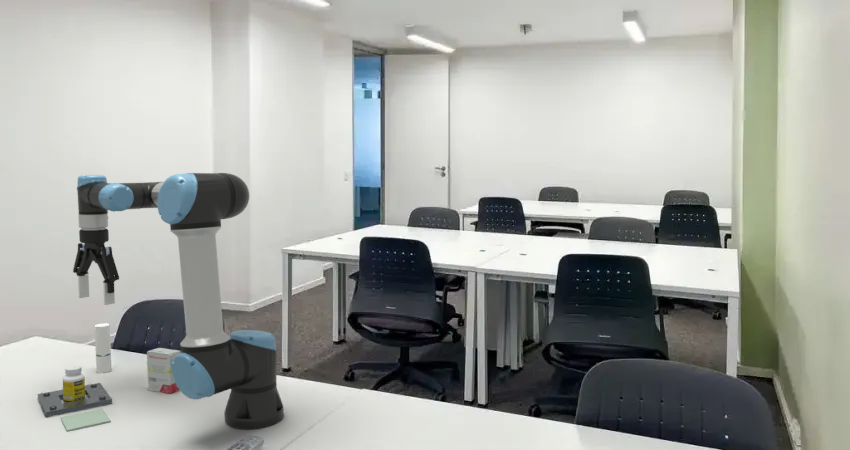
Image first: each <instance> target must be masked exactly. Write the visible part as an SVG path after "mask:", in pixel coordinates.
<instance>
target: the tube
mask: <svg viewBox="0 0 850 450" xmlns="http://www.w3.org/2000/svg"><path fill="white" fill-rule="evenodd" d="M94 342H95V343H94V345H95V361H96V362H95V364H96V365H95V366H96V373H97V374H107V373H110V372H112V371H113V370H112V352H111V350H112V349H111V347H112V346H111V326H110V323H107V322H106V323H104V322H103V323H98V324H95V325H94Z"/></svg>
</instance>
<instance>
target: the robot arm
mask: <svg viewBox="0 0 850 450" xmlns="http://www.w3.org/2000/svg"><path fill="white" fill-rule="evenodd" d="M76 191H77V192H76V193H77V205H78V206H77V207H78V214H77V215H78V228H79V230H78V232H79V233H78V235H79V243H77V253H76V257H75V261H74V265H73V269H72V272H73V273H74V274H75V275H76V276H77V278H78V279H77V283H78V285H77V286H78V287H77V288H78V298H79V299H83V298H84V299H85V298H89V297H90V283H89V282H90V281H89V278H90V277H89V274H90V273H89V269H90V267H91V265H92V263H93V262H94V263H95V264H97V266H98V268H99V270H100V272H101V275H102V278H103V279H104V280H103V281H102V283H103V286H102V287H103V305H105V306H107V305H108V306H109V305H113V304H116V302H115V300H116V299H115V298H116V297H115V282H116V281H119V280H120V275H119V273H118V269H117V266H116V263H115V262H116V261H115V259H114V255H113V248H112V246H105V243H107V242H109V240H110V239H109V238H110V237H109V229H108V228H107V227H109V214H108V213H109V212H125V211H126V210H140V209H157V211H158V214H159V216H160V219H161V220H162V221H163V222H164V223H166V224H168V225H169V228H170V232H171V233H172V234H173V235H175V237H176V238H177V242H178V243H177V244H178V253H179V263H180V265H179V266H180V274H181V275H180V276H181V287H182V298H183V299H182V302H183V311H184V312H183V313H184V323H185V324H184V325H185V334H186V335H185V337H184V338H183V340H182V341H181V342H180V344H179V345H180V351H181V353H179V354H178V355H177V356H175V357H174V359H173V362H172V374H173V378H174V381H175V383H176V385H177V387H178V388H179V391H180V392H181V393H182V394H183V395H184V396H185V397H186V398H188V399H191V400H200V399H204V398H211V397H213V396H214V395H217V394H220V393H222V392H223V393H224V392H226V391H228V390H230V393H229V396H228V400H227V403H226V405H225V409H224V423H225V424H226V425H227V426H229V427H231V428H234V429H239V430H241V429H242V430H252V429H253V430H254V429H256V430H257V429H261V428H265V427H266V428H267V427H270V426H272V425H275V424H277V423H278V422H280V421H281V420H282V419H283V418H284V414H285V413H284V410H285V408H284V404H283V401H282V399H281V396H280V393H279V391H278V387H277V351H278V348H277V343H276V342H277V341H276V337H275V335H274V334H272V333H271V332H268V331H263V330H258V329H257V330H256V329H255V330H254V329H239V330H235V331H234V330H233V331H231V333H229V335H228V333H226V332H225V331H224V323H223V311H222V298H221V287H220V285H221V284H220V275H219V263H218V250H217V240H216V239H217V238H216V236H217V235H216V234H217V233H218V232H219V231H220V229H222V222H221V221H222V220H225V219H231V218H234V217H235V218H236V217H237V216H239V215H240V214H241V213H243V212H244V211H245V210H246V208H247V206H248V205H249V202H250V191H249V188H248V185H247V184H246V182H245V181H244V180H243V179H242V178H241V177H239V176H237V175H235V174H232V173H227V172H218V173H217V172H213V173H212V172H210V173H209V172H208V173H207V172H203V173H201V172H198V173H197V172H186V173H185V172H184V173H176V174H172V175H170V176H168V177H167V178H166V179H165V180H164V181H153V182H152V181H149V182H117V183H116V182H114V183H111V182H110V183H109V182H108V181H107V177H106V176H105V175H103V174H81V175H78V177H77V187H76Z"/></svg>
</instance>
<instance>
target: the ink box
mask: <svg viewBox="0 0 850 450" xmlns="http://www.w3.org/2000/svg"><path fill="white" fill-rule="evenodd" d="M179 353H181V350H177V349H171V348H165V347H163V348H162V347H157V348H154V349H150V350H148V351H146V359H147V361H146V364H147V389H148V391H150V392H157V393H164V394H165V393H166V394H173V393H175V392H177V391H180V389H179V388H178V387H177V385H176V383H175V381H174V378H173V374H172V362H173V359H174V357H175V356H177V355H178V354H179Z"/></svg>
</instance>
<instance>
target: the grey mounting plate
mask: <svg viewBox="0 0 850 450" xmlns="http://www.w3.org/2000/svg"><path fill="white" fill-rule="evenodd" d="M85 396H86V397H87V398H86V397H85V399H81V400H76V401H71V402H66V403H64V402H62V400H63V389H59V390H53V391H48V392H42V393H37V400H38V403H39V405H40V407H41V410H42V412H43V414H44V416H45V418H50V417H55V416H60V415H64V414H65V415H66V414H69V413H74V412H79V411H83V410H90V409H94V408H98V407H103V406H108V405H113V398H112V397H111V395H110V394H109V393H108V392H107V390H106V389H105V387H104V386H103V384H102V383H101V382H97V383H90V384H85Z"/></svg>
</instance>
